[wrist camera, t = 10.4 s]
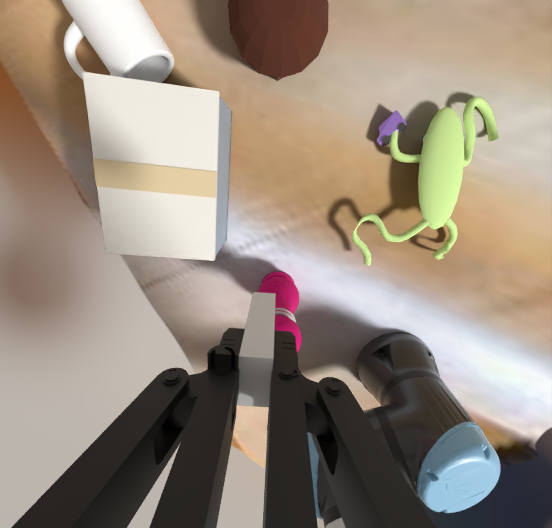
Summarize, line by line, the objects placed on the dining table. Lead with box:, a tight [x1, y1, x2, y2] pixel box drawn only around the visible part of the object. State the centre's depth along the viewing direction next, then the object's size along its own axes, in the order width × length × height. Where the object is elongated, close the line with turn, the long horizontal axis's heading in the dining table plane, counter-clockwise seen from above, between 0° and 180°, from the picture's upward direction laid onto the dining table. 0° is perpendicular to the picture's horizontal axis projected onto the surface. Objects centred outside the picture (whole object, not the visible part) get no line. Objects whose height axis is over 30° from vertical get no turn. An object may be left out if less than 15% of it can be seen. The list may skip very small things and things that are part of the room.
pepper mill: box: [258, 271, 302, 352], centre depth 40 cm, size 7×7×20 cm
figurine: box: [352, 97, 498, 265], centre depth 41 cm, size 18×27×6 cm
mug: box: [62, 0, 174, 83], centre depth 33 cm, size 12×10×8 cm
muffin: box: [228, 0, 328, 81], centre depth 32 cm, size 12×11×10 cm
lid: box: [83, 72, 220, 261], centre depth 33 cm, size 21×14×1 cm
